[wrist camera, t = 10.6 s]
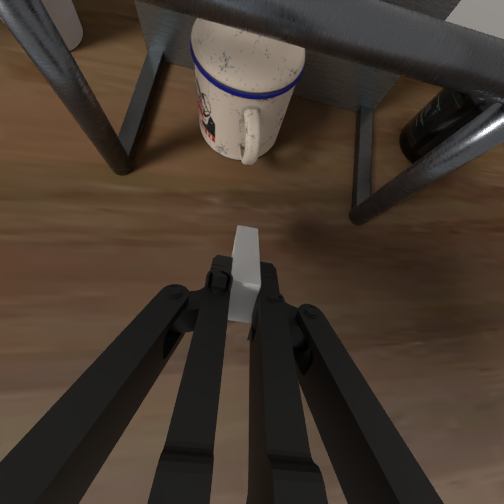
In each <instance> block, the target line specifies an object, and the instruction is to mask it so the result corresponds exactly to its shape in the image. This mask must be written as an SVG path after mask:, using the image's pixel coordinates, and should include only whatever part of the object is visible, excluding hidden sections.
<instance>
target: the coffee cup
mask: <svg viewBox="0 0 504 504" xmlns="http://www.w3.org/2000/svg"><path fill="white" fill-rule="evenodd" d="M41 1H42V3H43V4H44V6H45V8H46V10H47V12H48V13H49V15H50V17H51V19H52V21H53V22H54V24H55V26H56V28H57V29H58V31H59V33H60V35H61V37H62V38H63V40H64V42H65V44H66V45H67V47H68V49H69V51H71V50H73V49H74V48H76V47H77V46H78V45H79V43H80V42H81V40H82V37H83V29H82V26H81V23H80V20H79V18H78V15H77V13H76V10H75V8H74V5H73V2H72V0H41ZM0 19H1V18H0ZM1 20H2V19H1ZM2 21H3V20H2Z"/></svg>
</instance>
